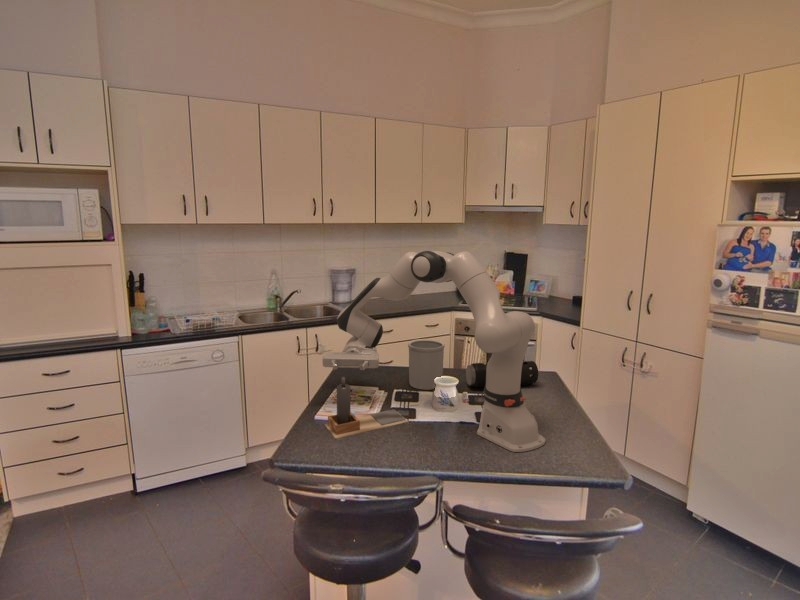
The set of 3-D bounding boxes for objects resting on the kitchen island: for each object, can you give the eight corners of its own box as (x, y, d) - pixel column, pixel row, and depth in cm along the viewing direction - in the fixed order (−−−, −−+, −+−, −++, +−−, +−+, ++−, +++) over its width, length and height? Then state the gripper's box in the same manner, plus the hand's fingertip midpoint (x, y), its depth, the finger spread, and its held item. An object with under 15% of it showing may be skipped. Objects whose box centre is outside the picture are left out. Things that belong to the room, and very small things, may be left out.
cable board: (408, 425, 158) (409, 413, 157) (335, 443, 146) (335, 429, 145) (394, 413, 168) (394, 401, 167) (324, 428, 156) (323, 415, 155)
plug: (352, 428, 152) (352, 378, 149) (339, 431, 150) (339, 381, 147) (347, 423, 156) (347, 374, 153) (335, 425, 154) (334, 376, 151)
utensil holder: (408, 377, 203) (408, 338, 200) (442, 377, 202) (443, 338, 199) (406, 390, 189) (407, 348, 185) (444, 391, 188) (445, 349, 184)
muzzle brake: (537, 388, 191) (539, 364, 189) (471, 392, 187) (472, 368, 185) (527, 380, 200) (529, 357, 198) (464, 384, 196) (465, 360, 194)
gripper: (325, 346, 175) (318, 358, 162) (380, 347, 175) (377, 359, 161) (326, 362, 177) (318, 375, 163) (380, 363, 176) (377, 377, 162)
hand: (348, 367), depth 162 cm, fingers open, 8 cm apart
